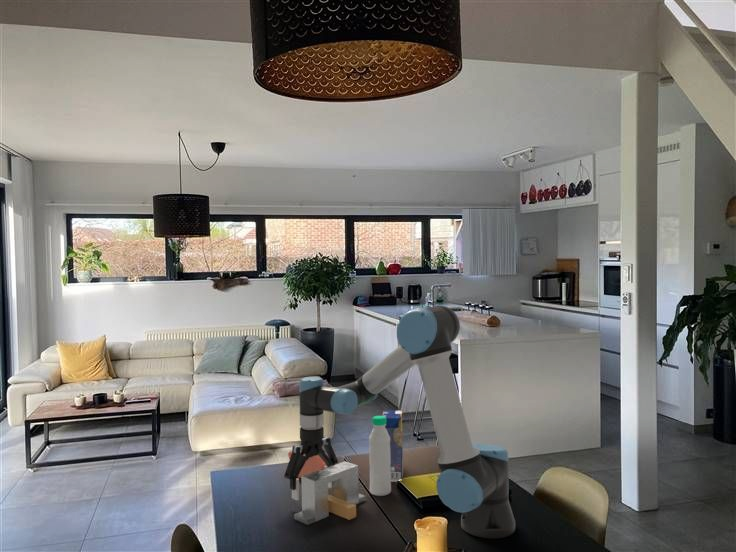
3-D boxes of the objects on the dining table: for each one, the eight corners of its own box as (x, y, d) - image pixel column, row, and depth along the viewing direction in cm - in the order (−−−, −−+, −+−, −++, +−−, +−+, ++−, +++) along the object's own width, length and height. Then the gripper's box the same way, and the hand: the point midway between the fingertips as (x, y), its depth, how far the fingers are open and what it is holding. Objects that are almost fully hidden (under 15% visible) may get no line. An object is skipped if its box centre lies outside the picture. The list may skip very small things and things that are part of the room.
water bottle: (389, 497, 193) (388, 420, 193) (367, 496, 195) (366, 419, 194) (392, 489, 200) (391, 414, 199) (371, 487, 201) (370, 413, 201)
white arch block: (365, 500, 191) (364, 463, 191) (307, 525, 174) (306, 484, 173) (352, 495, 195) (351, 458, 195) (294, 519, 178) (293, 479, 178)
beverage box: (403, 470, 217) (402, 410, 217) (402, 482, 206) (401, 418, 206) (384, 470, 218) (383, 410, 217) (382, 481, 207) (381, 418, 206)
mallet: (358, 515, 180) (358, 489, 180) (346, 521, 176) (346, 494, 176) (314, 497, 194) (314, 473, 194) (302, 502, 190) (302, 477, 190)
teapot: (295, 466, 224) (294, 441, 224) (340, 470, 219) (340, 444, 218) (281, 478, 212) (280, 451, 212) (329, 482, 207) (328, 455, 207)
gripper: (332, 416, 201) (333, 479, 202) (272, 432, 183) (273, 501, 184) (348, 420, 196) (348, 485, 197) (287, 437, 178) (288, 508, 179)
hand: (312, 493), depth 190 cm, fingers open, 13 cm apart
